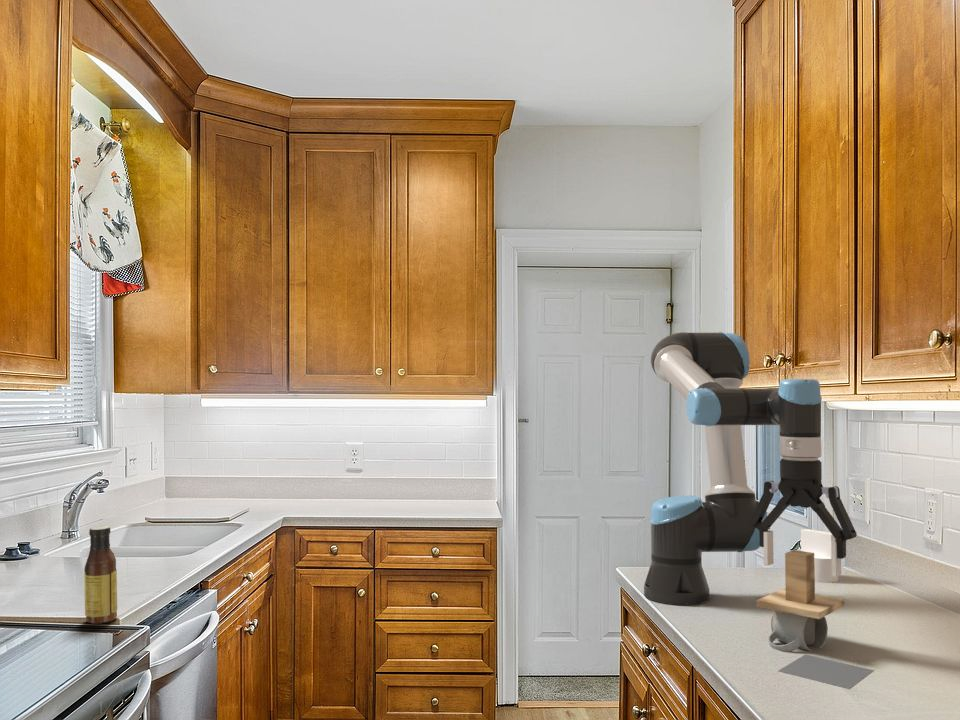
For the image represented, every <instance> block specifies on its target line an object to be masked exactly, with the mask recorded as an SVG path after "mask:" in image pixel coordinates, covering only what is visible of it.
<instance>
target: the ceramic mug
mask: <svg viewBox="0 0 960 720" xmlns="http://www.w3.org/2000/svg"><path fill="white" fill-rule="evenodd" d="M770 628H771V633H770V634H769V636H768V637H767V640H768V644H769V647H770V648H772V649H773V650H777V651H780V652H781V651H782V652H785V653H787V652H788V653H789V652H792V651H795V650H797V649H798V648H799V649H802V650H805V651H808V652H810V651H811V652H812V651H813V649H810V648H809V647H808V646H809V645H810V646H813V647H816V648H818V649H822V648H823V647H824V645H825V643H826V641H827V637H828V622H827V618H826V616H824V617H823V618H821V619H815V618H811V617H806V616H801V615H796V614H791V613H786V612H781V611H776V610H774V612H773V613H772V615H771V619H770ZM775 640H778V641H779V642H781V643H784V644H781V645H780V644H779V645H777V644H774V642H775Z"/></svg>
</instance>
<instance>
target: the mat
mask: <svg viewBox="0 0 960 720" xmlns="http://www.w3.org/2000/svg"><path fill="white" fill-rule="evenodd" d="M874 671H875V670H874V669H870V668H866V667H863V666H858V665H853V664H850V663H844V662H842V661H841V662H840V661H835V660H832V659H828V658H823V657H819V656H814V655H810V654H804V655H801V657H798V658H797V659H795V660H794V661H791V663H789V664H787V665H785V666H784V667H782V668H780V669H779V670H777V672H779V673H784V674H788V675H791V676H796V677H799V678H804V679H806V680H807V679H808V680H811V681H816V682H817V683H822V684H826V685H830V686H835V687H838V688H842V689H846V690H851V688H854V686H856V685H857V684H858V683H860V682H862V680H864V679H865V678H867V677H868V676H869V675H870V674H872V673H873V672H874Z"/></svg>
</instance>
